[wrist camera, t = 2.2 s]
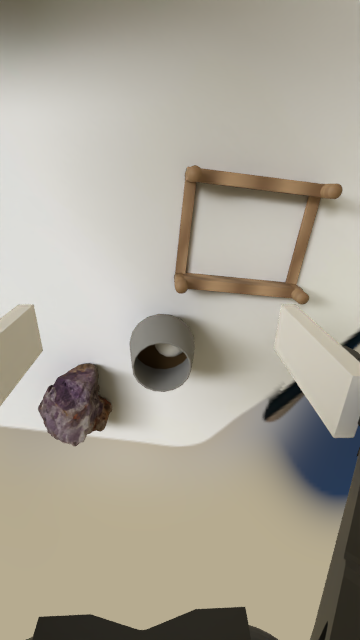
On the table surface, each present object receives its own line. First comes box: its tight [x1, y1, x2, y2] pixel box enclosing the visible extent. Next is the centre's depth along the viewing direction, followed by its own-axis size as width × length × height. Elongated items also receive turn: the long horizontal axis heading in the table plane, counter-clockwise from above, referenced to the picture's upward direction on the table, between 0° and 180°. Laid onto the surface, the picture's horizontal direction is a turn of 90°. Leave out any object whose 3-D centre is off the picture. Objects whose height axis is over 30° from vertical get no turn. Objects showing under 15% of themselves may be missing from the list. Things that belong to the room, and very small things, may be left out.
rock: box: [38, 364, 112, 446], centre depth 46 cm, size 12×9×10 cm
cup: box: [130, 314, 194, 392], centre depth 42 cm, size 10×9×10 cm
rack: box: [174, 165, 342, 304], centre depth 38 cm, size 18×15×5 cm
